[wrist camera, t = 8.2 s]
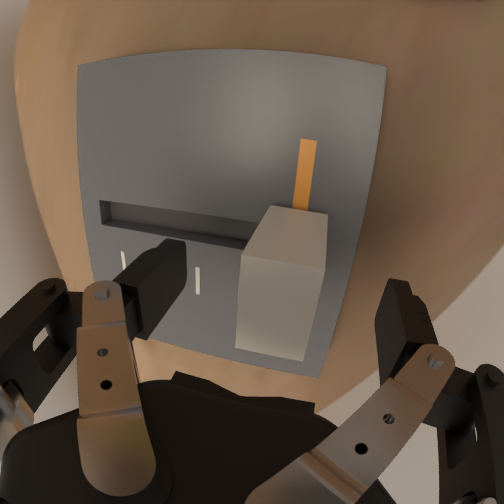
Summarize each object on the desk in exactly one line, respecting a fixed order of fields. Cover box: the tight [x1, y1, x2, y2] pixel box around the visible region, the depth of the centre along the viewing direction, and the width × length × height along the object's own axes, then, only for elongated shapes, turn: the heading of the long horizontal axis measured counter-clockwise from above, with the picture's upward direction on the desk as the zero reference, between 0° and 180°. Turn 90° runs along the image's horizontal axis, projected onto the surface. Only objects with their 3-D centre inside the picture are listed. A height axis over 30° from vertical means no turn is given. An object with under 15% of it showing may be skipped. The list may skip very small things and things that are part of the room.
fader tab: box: [235, 205, 328, 362], centre depth 13 cm, size 4×3×6 cm, turn 176°
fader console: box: [77, 49, 387, 378], centre depth 17 cm, size 18×16×3 cm
